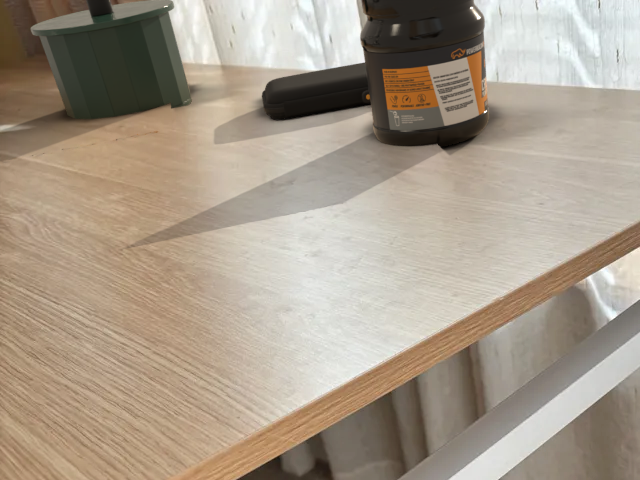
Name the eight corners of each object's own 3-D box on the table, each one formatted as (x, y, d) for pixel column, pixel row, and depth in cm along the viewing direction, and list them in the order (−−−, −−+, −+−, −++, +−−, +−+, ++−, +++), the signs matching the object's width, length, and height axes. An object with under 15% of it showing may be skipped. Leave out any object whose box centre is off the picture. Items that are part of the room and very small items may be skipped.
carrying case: (268, 132, 82) (410, 106, 83) (261, 98, 80) (406, 72, 81) (264, 109, 91) (394, 85, 91) (257, 78, 89) (390, 54, 89)
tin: (67, 137, 93) (32, 41, 87) (76, 110, 104) (46, 24, 98) (194, 112, 94) (168, 16, 88) (189, 88, 105) (166, 2, 99)
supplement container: (475, 150, 68) (464, -21, 61) (359, 156, 72) (334, -6, 64) (501, 115, 76) (494, -41, 68) (394, 122, 79) (376, -27, 71)
